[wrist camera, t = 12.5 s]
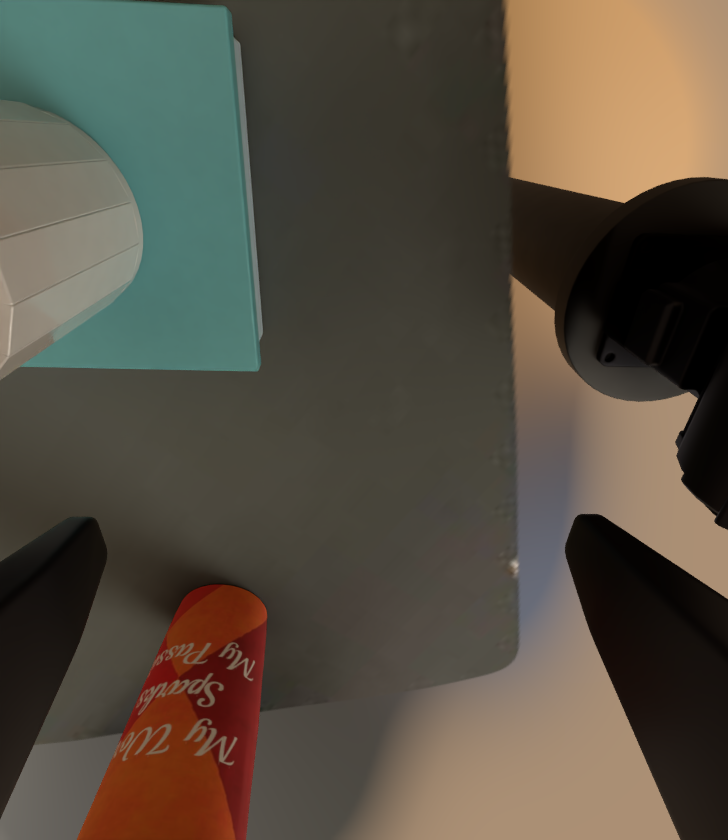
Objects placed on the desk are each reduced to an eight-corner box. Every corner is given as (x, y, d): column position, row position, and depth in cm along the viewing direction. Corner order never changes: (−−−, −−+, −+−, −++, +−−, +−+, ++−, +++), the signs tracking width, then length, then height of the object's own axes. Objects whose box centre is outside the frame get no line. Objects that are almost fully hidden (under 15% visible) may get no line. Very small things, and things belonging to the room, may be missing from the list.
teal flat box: (249, 30, 15) (226, 4, 12) (271, 340, 20) (258, 372, 18) (-161, 9, 14) (-284, -24, 12) (-26, 333, 20) (-87, 365, 17)
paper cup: (267, 564, 28) (206, 888, 16) (295, 641, 32) (264, 947, 20) (140, 580, 28) (-13, 908, 16) (184, 655, 32) (87, 962, 20)
